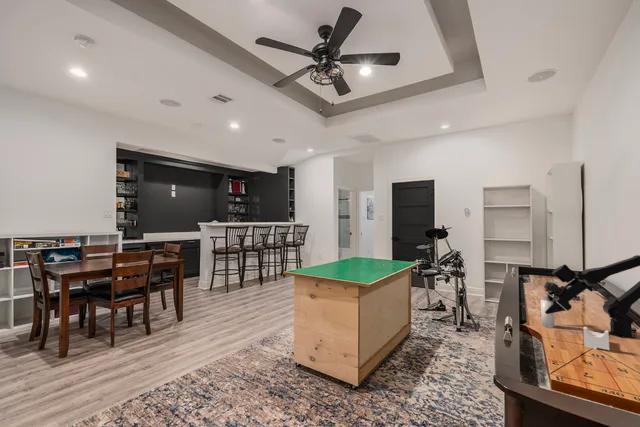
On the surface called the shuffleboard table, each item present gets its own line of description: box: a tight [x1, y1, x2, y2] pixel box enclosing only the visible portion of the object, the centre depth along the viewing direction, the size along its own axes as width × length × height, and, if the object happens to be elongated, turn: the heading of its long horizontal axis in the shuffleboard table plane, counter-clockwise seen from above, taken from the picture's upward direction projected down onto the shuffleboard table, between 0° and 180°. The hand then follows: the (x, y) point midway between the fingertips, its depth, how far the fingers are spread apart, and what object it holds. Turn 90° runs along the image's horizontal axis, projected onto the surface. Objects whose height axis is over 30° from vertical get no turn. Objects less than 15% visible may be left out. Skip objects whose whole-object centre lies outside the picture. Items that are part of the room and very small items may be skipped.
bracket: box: [583, 326, 610, 351], centre depth 118 cm, size 13×7×8 cm, turn 136°
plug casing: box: [540, 295, 556, 329], centre depth 141 cm, size 5×5×14 cm
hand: (543, 310), depth 142 cm, fingers open, 9 cm apart
